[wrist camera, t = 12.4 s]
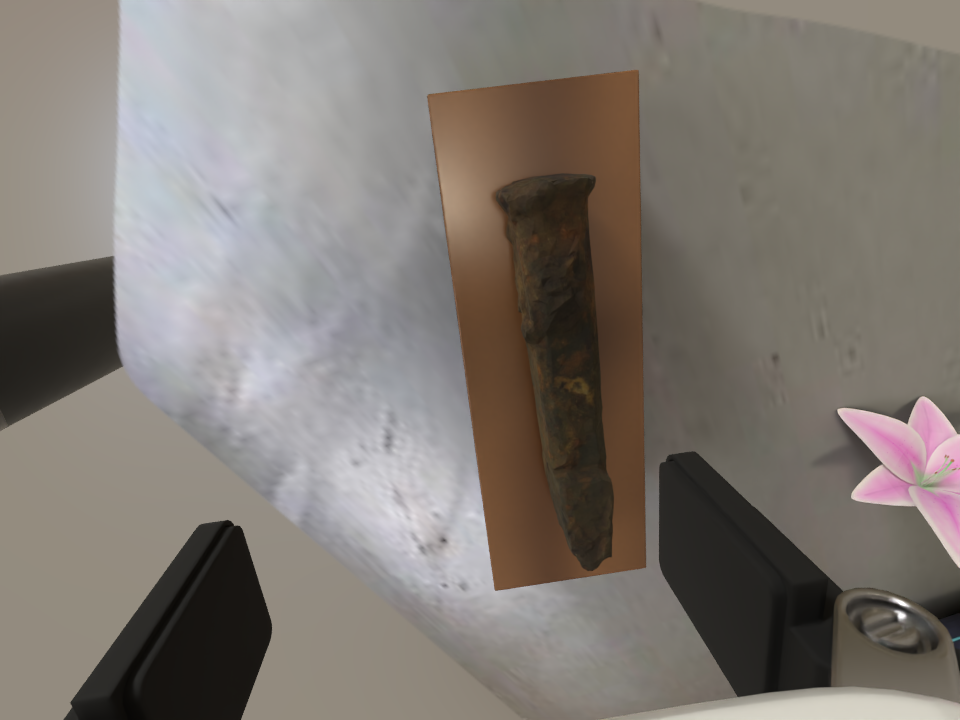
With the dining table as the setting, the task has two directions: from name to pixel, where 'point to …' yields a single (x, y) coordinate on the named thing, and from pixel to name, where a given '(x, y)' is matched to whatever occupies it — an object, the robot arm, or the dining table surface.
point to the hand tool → (563, 351)
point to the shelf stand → (497, 323)
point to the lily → (913, 466)
